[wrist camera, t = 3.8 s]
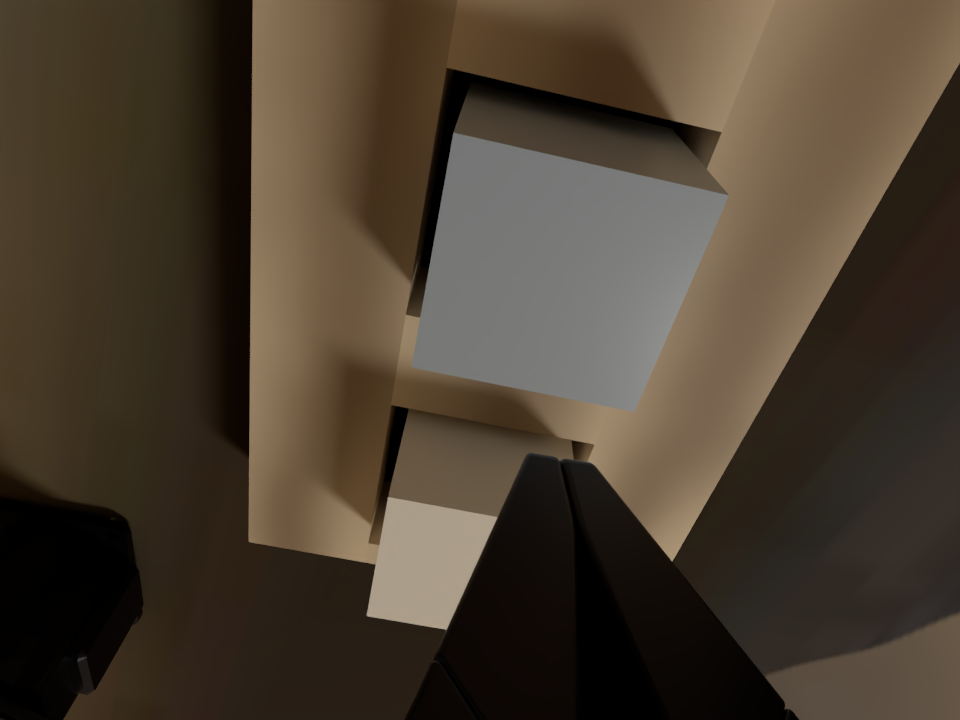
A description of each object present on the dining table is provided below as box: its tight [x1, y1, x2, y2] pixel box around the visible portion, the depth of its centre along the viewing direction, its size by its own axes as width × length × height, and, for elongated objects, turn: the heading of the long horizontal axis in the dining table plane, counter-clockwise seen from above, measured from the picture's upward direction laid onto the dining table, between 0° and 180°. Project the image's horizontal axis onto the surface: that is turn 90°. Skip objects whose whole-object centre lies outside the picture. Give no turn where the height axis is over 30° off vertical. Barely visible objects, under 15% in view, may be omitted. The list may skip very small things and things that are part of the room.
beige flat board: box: [249, 0, 960, 564], centre depth 16 cm, size 14×26×3 cm, turn 168°
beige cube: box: [367, 408, 574, 630], centre depth 19 cm, size 5×5×5 cm
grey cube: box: [411, 82, 729, 412], centre depth 14 cm, size 5×5×5 cm
